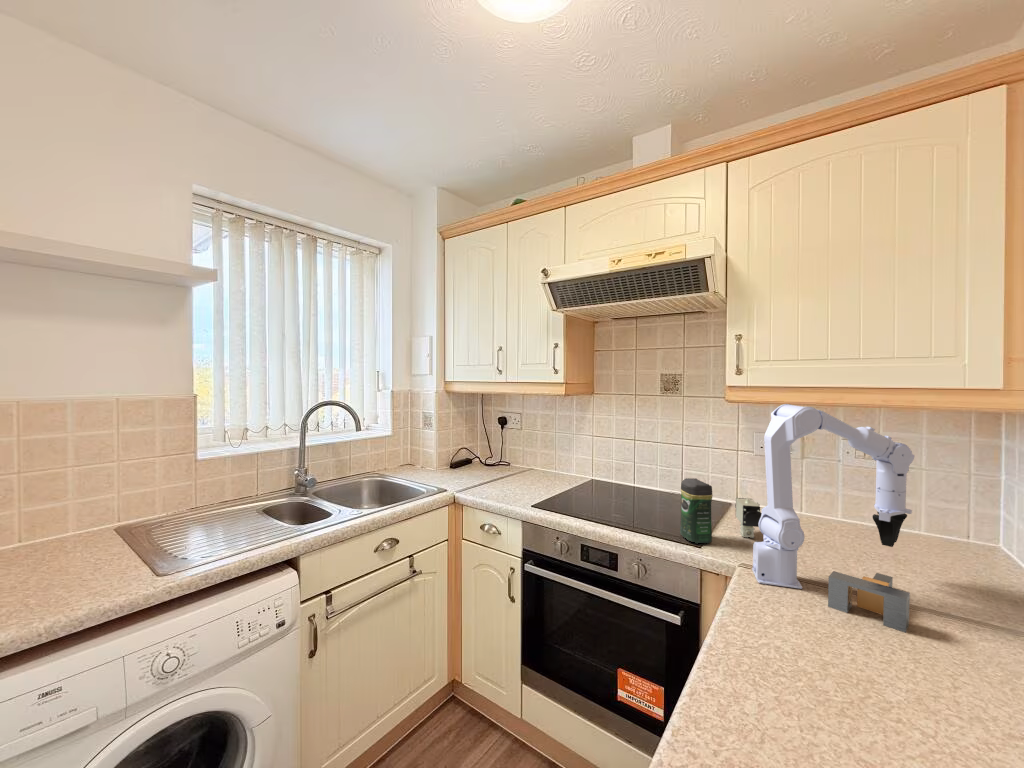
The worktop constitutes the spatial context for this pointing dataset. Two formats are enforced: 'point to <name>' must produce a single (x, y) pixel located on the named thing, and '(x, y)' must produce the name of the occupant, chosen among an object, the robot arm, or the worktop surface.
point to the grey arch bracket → (893, 598)
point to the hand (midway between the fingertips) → (889, 543)
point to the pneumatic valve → (747, 516)
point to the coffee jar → (696, 511)
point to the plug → (871, 599)
